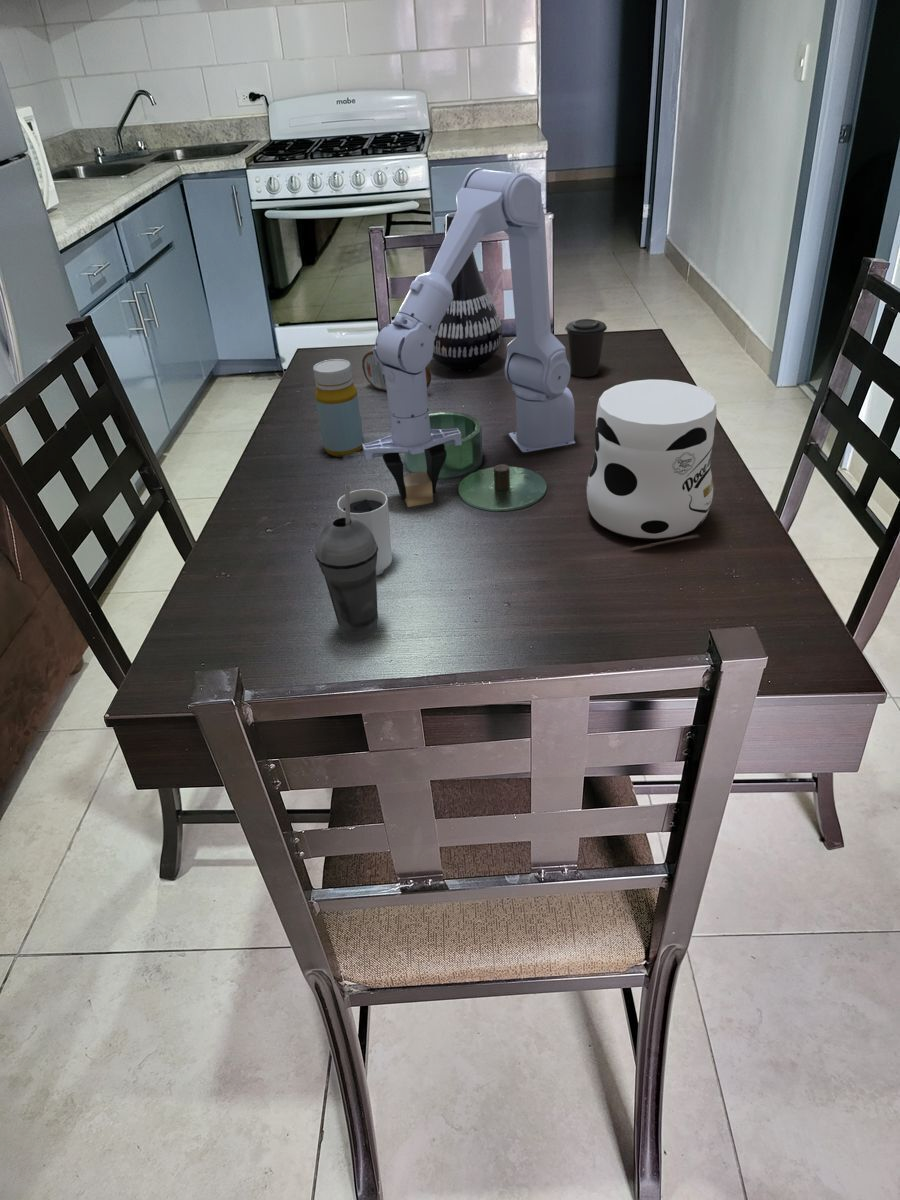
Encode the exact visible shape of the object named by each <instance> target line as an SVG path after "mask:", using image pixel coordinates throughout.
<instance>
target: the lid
mask: <svg viewBox="0 0 900 1200" xmlns="http://www.w3.org/2000/svg"><path fill="white" fill-rule="evenodd" d="M457 490H458V496H459V498H460V499H461V500H462V502H463V503H465V504H467V505H468V506H470V507H472V508H475V509H478V510H483V511H487V512H511V511H517V510H521V509H525V508H528V507H530V506H533V505H535V504H537V503H538V502H540V501H541V500H542V499H543V498H544V497H545V495H546V494H547V482H546V480H545V478H543V476H542V475H540V474H539V473H537V472H536V471H533V470H531V469H527V468H524V467H519V466H509V465H507V464H501V463H500V464H497V465H495V466H491V467H486V468H483V469H482V468H481V469H479V470H475V471H473V472H471V473H469V474H467V475H466V476H465V477H464V478H463V479H462V480H461V481H460V483H459V485H458V488H457Z"/></svg>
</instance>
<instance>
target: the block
mask: <svg viewBox="0 0 900 1200" xmlns="http://www.w3.org/2000/svg"><path fill="white" fill-rule="evenodd" d="M403 475H404V485H405V490H406V499H404V501H405V504H406V506H407V507H408V508H411V507H416V506H421V505H427V504H431V503H434V494H433V491H432V482H431V480H430V478H429V476H428V474H427V472H426V471H422V472H416V473H412V472H411V473H405V474H403Z"/></svg>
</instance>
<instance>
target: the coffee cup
mask: <svg viewBox="0 0 900 1200" xmlns="http://www.w3.org/2000/svg"><path fill="white" fill-rule="evenodd" d="M564 330H565V332H566V333H567V334H566V335H567V344H568V355H569V365H570V374H571V375H573V376H575V377H579V378H590V377H594V376H596V375H597V374H598V373H599V367H600V362H601V354H602V348H603V342H604V335H605V331H607V330H608V326H607V325H606V323H605V322H603V321H601V320H597V319H593V318H582V319H577V320H573V321H570V322H568V323H567V324H566V326H565V327H564Z"/></svg>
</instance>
